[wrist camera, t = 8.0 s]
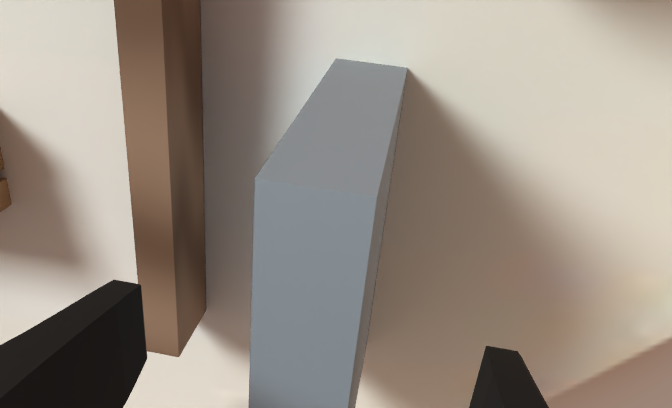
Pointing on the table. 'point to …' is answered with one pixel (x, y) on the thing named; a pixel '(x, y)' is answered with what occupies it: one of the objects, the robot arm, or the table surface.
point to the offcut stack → (3, 189)
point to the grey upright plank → (322, 239)
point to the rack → (165, 162)
